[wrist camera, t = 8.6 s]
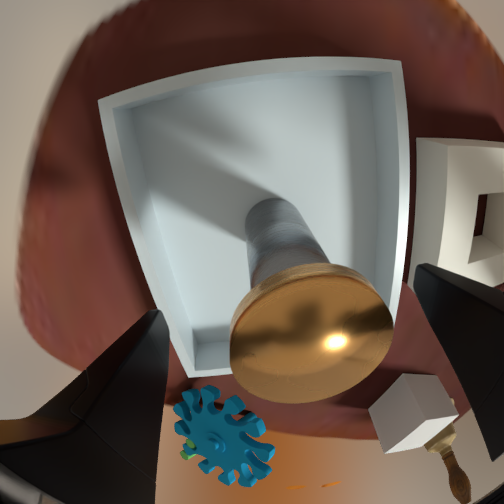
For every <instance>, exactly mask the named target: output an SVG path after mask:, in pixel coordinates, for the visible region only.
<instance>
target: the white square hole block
mask: <svg viewBox="0 0 504 504" xmlns="http://www.w3.org/2000/svg"><path fill="white" fill-rule="evenodd" d="M416 154H417V182H416V208H415V223H414V235H413V245H412V254H411V262H410V270H409V277H408V283H407V285H408V286H409V287H410V288H411V289H412V291H413V292H414V289H413V281H414V275H415V269H416V266H417V265H418V264H423V263H429V264H432V265H434V266H437V267H440V268H443V269H446V270H448V271H451V272H454V273H456V274H459V275H462V276H465V277H467V278H470V279H472V280H475V281H478V282H480V283H483V284H486V285H488V286H491V287H494V286H496V285H499V284H501V283H504V142H495V141H484V140H471V139H453V138H416ZM479 194H488V196H487V205H486V213H485V220H484V226H483V232H482V235H479V236H475V237H473V233H474V227H475V220H476V213H477V204H478V195H479ZM414 293H415V292H414Z"/></svg>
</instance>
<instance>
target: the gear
mask: <svg viewBox="0 0 504 504" xmlns="http://www.w3.org/2000/svg"><path fill="white" fill-rule="evenodd" d="M182 396H183V399H184V400H185V401H182V402H180V403H177V404H176V405H175V406H174V408H173V410H174V412H175V413H176V414H177V415H178V416H180V417H181V418H182V419H183V420H180V421H178V422H176V423H175V426H174V427H175V432H176V433H177V434H179V435H183V436H185V437H187V438H188V439H186V443H185V444H183V448H184V450H183V451H181V452H180V454H181V456H182V458H184V459H185V460H188V459H190V458H191V457H193V456H195V455H196V454H199V455H202V456H204V457H205V458H207V459H205V460H203V461H202V462H200V463H199V464H198V466H199V467H200V468H201V470H202V471H203V472H204V473H205V474H208V473H209V472H211V471H212V470H214V469H215V466H219V467H221V468H222V469H223V470H224V472H223V473H222V474H220V475H219V476H218V479H219V480H220V481H221V482H223V483H224V484H226V485H228V486H229V485H230V484H231V483H233V482H234V481H235V480H236V479H235V476H234V469H235V470H237V471H238V472H239V474H240V477H239V479H238V483H239V484H240V485H241V486H244V487H252V486H253V485H254V484H255V483H256V482H257V479H258V480H260V479H263V478H265V477H266V476H267V475H268V474H269V473H270V472H271V471H272V469H271V467H270V466H268V465H267V464H265V463H263V462H267V461H269V460H270V459H271V458H272V457H273V455H274V453H275V447H274V446H273V445H271V444H268V443H260V442H257V441H255V440H253V439H252V438H250V437H249V436H247V434H246V433H248V434H249V435H250V436H252V437H260V436H261V435H262V434H263V433H264V432H266V428H265V425H264V423H263V421H262V419H261V418H257V417H256V415H255V414H254V413H252V412H250V413H248V414H247V415H245V416H244V417H242V418H241V419H239V420H238V421H236V420H234V419H233V418H232V416H231V414H232V415H236V414H238V413H239V412H241V411H242V410H244V409H245V407H246V406H245V404H244V403H243V401H242V400H241V399H240V398H239V397H238V396H237V395H234V396H232V397H230V398H229V399H227V400H226V401H225V403H224V407H223V409H222V411H219V410H217V409H216V408H215V406H214V400H216V399H218V398H219V397H220V390H219V389H217V388H216V387H214V386H211V385H207V386H205V387H203V388H202V389H201V396H202V400H203V408H201V407H200V405H199V400H200V393H199V391H198V389H189V390H187V391H184V392H182ZM190 411H191V413H190ZM245 432H246V433H245ZM252 451H253V452H254V453H255V454H256V456H257V457H258V458H259V459H260V460H261V461H263V462H261V461H260V460H259V459H258V458H257V457H256V456H255V455H254V453H253V452H252ZM247 464H248V465H250V467H251V468H252V472H253V474H252V473H251V472H250V470H249V468H248V465H247ZM256 478H257V479H256Z"/></svg>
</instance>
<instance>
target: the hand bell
mask: <svg viewBox="0 0 504 504" xmlns="http://www.w3.org/2000/svg"><path fill="white" fill-rule="evenodd" d="M450 399H451V401H452V403H453V405H454V400H453V398H450ZM455 437H456V432H455V429H454V426H453V422H451V423H449V424H448V425H447V426H446V427H445V428H444V429H442V430H441V431H440V432H439V433H438V434H436V435H435V436H434V437H433V438H432V439H430V440H429V441H428V442H426V443H425V444H424V446H425V448H426V449H427V451H428V452H430V453H433V452H439V453H440V454H441V456H442V459H443V460H444V463H445V465H446V467H447V470H448V473H449V484H450V488H451V491H452V493H453V495H454V497H455V498H456V499H457V500H458V501H459V502H460V503H461V504H467V503H469V502H470V501H471V485H470V481H469V479H468V477H467V476H466V474H465V472H464V471H463V470H462V469H461V468H460V467H459V465H458V463H457V461H456V458H455V455H454V452H453V451H452V448H451V443H452V441H453V440H454V438H455Z"/></svg>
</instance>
